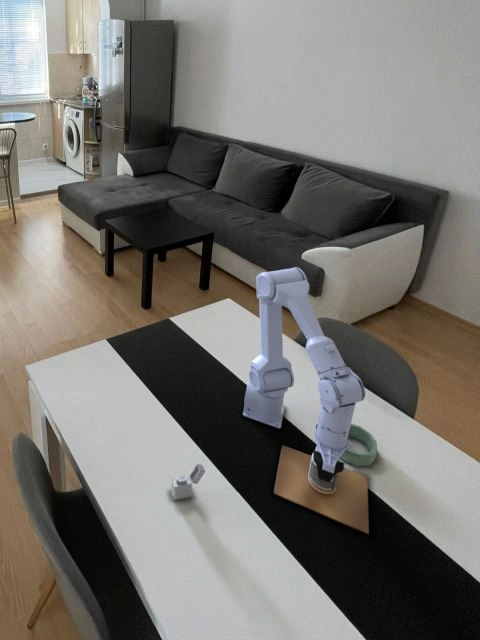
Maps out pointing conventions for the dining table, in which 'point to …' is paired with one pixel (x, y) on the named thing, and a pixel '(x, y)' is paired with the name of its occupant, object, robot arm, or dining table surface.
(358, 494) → the cork mat
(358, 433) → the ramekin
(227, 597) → the dining table surface
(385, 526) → the dining table surface
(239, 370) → the dining table surface
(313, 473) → the pill bottle
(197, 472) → the lighter
